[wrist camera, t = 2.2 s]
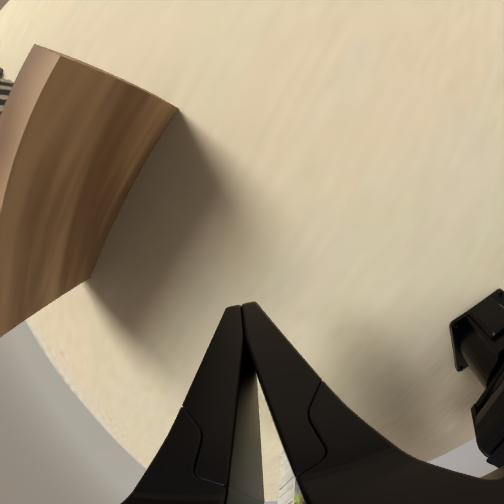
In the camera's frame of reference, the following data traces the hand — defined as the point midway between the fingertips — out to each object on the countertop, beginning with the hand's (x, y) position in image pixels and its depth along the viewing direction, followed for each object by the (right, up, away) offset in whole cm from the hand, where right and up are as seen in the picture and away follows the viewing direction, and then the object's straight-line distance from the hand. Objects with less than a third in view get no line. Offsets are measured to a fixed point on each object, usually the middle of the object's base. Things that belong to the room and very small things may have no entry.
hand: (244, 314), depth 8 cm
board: (-10, +6, +12) cm, 17 cm away
